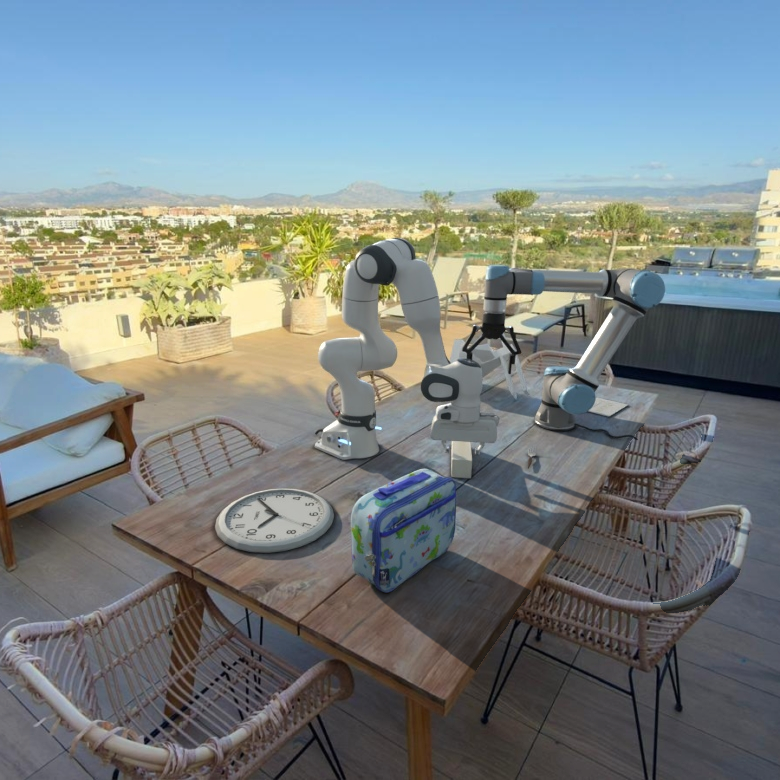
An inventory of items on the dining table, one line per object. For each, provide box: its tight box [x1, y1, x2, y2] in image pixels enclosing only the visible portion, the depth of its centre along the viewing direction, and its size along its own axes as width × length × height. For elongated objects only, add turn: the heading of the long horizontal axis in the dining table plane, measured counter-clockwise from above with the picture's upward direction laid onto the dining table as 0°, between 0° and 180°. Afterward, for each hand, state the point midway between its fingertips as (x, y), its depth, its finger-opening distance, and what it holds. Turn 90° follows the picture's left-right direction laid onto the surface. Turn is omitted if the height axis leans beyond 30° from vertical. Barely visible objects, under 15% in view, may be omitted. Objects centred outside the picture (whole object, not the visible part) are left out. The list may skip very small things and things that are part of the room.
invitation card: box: [587, 396, 629, 418], centre depth 226 cm, size 21×1×15 cm
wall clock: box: [214, 488, 335, 554], centre depth 135 cm, size 30×2×30 cm
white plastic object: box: [449, 332, 531, 400], centre depth 245 cm, size 37×45×31 cm
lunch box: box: [350, 468, 457, 593], centre depth 114 cm, size 26×11×21 cm, turn 134°
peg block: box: [450, 441, 473, 479], centre depth 170 cm, size 6×24×6 cm, turn 173°
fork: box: [527, 445, 537, 469], centre depth 172 cm, size 3×16×2 cm, turn 160°
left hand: (461, 453), depth 162 cm, fingers open, 8 cm apart
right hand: (489, 372), depth 184 cm, fingers open, 13 cm apart
